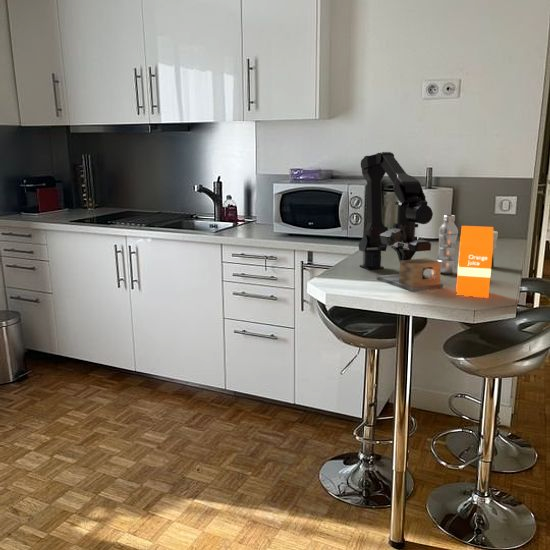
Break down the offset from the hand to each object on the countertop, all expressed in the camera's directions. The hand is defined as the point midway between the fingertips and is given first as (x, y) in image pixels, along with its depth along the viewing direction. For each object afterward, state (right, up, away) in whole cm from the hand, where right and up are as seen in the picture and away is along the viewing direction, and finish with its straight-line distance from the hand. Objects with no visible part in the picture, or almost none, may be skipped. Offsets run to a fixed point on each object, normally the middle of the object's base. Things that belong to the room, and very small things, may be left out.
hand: (403, 268), depth 176 cm
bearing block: (+1, -5, -2) cm, 5 cm away
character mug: (+35, +1, +24) cm, 43 cm away
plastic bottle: (+17, -2, +13) cm, 22 cm away
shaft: (+3, -3, -7) cm, 8 cm away
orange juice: (+17, -8, -14) cm, 23 cm away
